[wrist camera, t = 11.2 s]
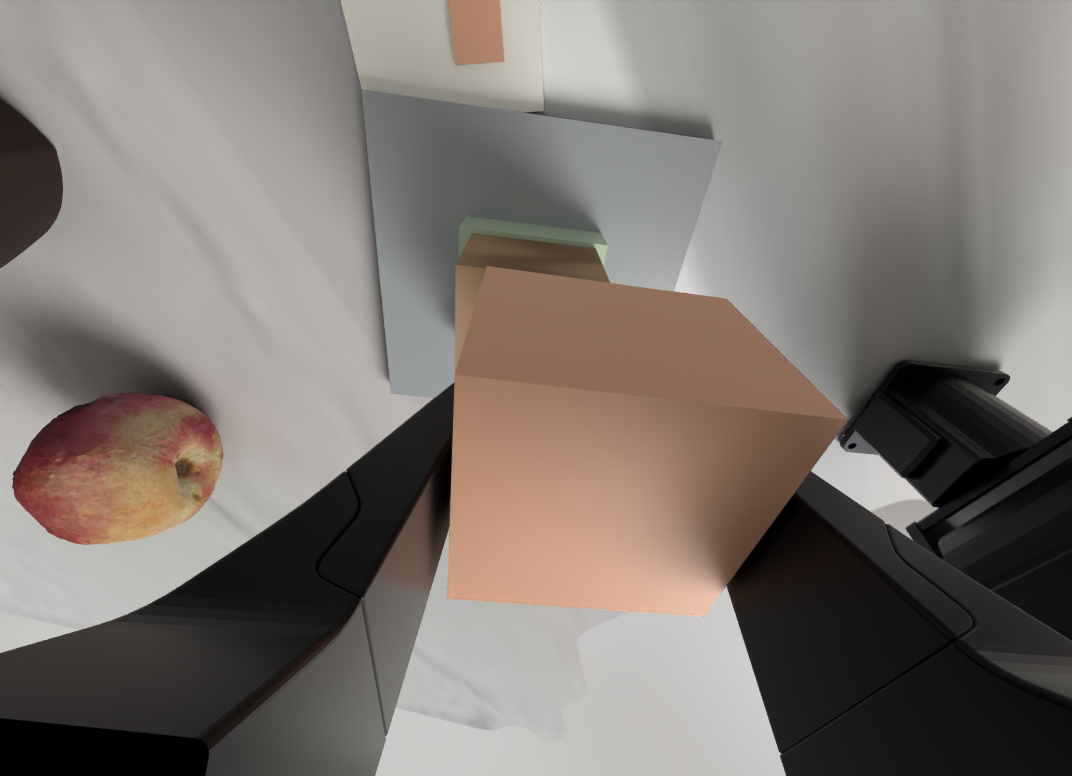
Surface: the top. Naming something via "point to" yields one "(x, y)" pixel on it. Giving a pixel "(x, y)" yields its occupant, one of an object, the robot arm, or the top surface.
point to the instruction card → (450, 50)
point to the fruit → (119, 468)
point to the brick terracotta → (619, 445)
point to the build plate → (513, 207)
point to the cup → (25, 184)
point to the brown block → (514, 257)
